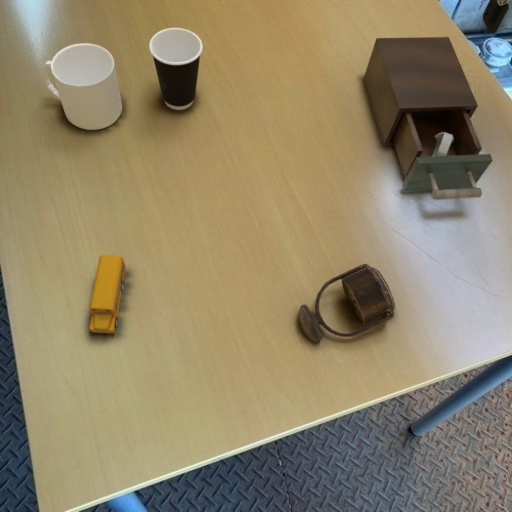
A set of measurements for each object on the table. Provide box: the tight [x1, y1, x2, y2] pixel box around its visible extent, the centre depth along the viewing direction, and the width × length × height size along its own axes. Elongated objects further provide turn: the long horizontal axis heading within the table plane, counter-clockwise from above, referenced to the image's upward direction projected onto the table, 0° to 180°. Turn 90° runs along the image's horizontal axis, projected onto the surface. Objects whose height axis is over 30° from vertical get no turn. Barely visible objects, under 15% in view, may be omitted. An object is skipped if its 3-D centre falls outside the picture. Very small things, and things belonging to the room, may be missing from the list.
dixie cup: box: [148, 27, 204, 111], centre depth 86 cm, size 8×8×11 cm
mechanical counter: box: [298, 263, 396, 343], centre depth 71 cm, size 7×13×10 cm
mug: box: [40, 42, 123, 131], centre depth 85 cm, size 12×9×9 cm
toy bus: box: [89, 254, 126, 335], centre depth 71 cm, size 3×10×4 cm, turn 178°
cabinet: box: [363, 36, 479, 147], centre depth 90 cm, size 16×13×9 cm
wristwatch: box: [432, 132, 454, 157], centre depth 84 cm, size 3×5×5 cm, turn 158°
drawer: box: [392, 110, 493, 201], centre depth 84 cm, size 19×11×7 cm, turn 7°
